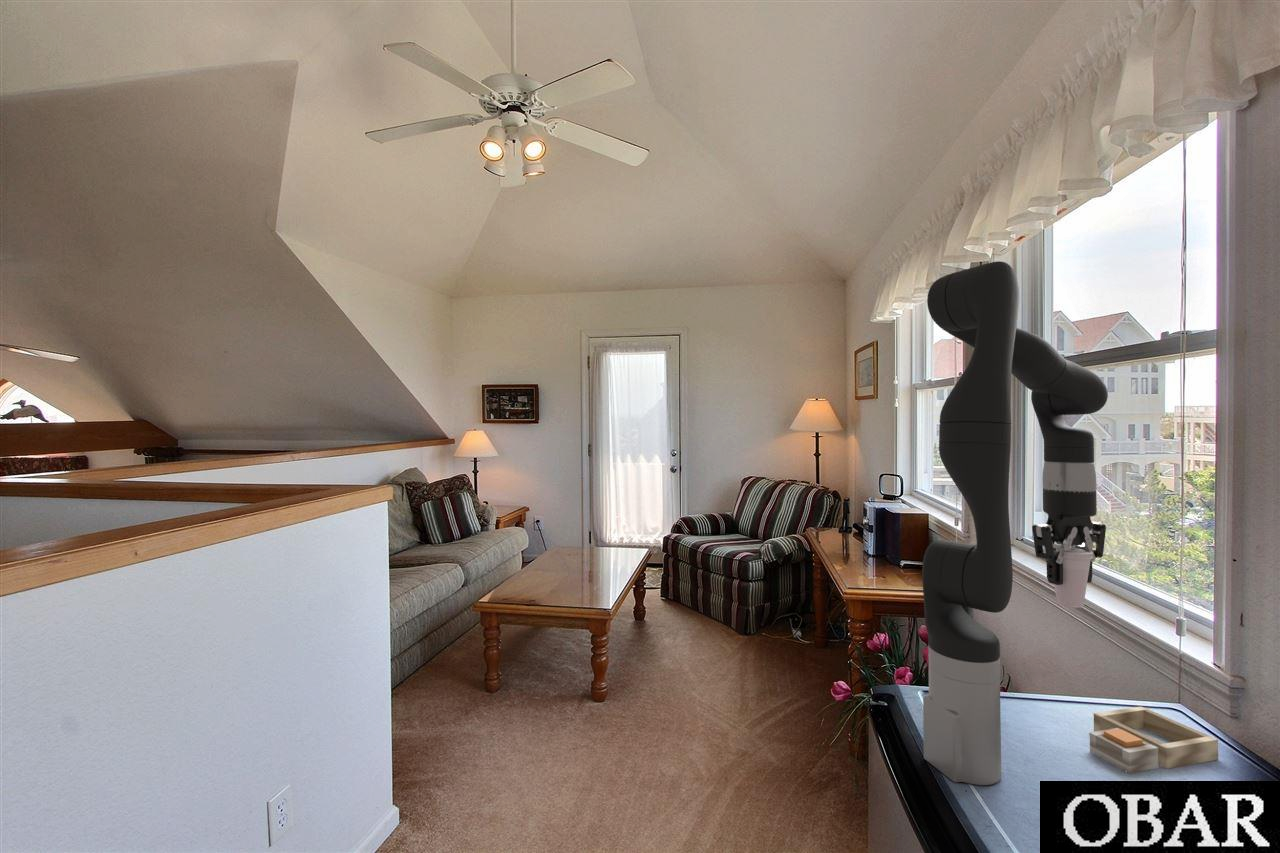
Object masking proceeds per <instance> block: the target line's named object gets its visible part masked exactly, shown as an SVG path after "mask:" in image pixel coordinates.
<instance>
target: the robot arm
mask: <svg viewBox="0 0 1280 853" xmlns="http://www.w3.org/2000/svg"><path fill="white" fill-rule="evenodd" d="M926 303H927V310H928V314H929V316H930V317H931V319H932V321H933V322H934V323H935V324H936V325H937V326H938V327H939V328H940V329H942V330H943V331H945V332H947V333H948V334H950V336H953V337H954V338H956V339H958V340H960V341H962V342H964V343H965V344H967V345H968V346H970V347H972V348H973V352H972V354H971V357H970V360H969V361H968V364H967V366H966V368H965V370H964V371H963V373H962V374H961V376H960V378H958V380H957V382H956V383H955V385H954V386H953V388H952V390H951V391H950V393H949V394H948V396H947V398H946V400H945V401H944V403H943V405H942V407H941V411H940V414H939V430H938V431H939V434H938V435H939V436H938V451H939V458H940V459H941V463H942V465H943V466H944V469H945V471H947V474H948V475H949V477H950V479H951V480H952V481H953V483H954V485H955V486H956V488H958V491H959V492H960V493H961V495H962V497H963V499H964V500H965V502H966V504H967V506H968V508H969V510H970V513H971V515H972V519H973V523H974V530H975V536H976V544H975V543H968V542H967V543H966V542H959V541H953V540H945V539H939V540H938V539H937V540H934V541H933V542H931V543H929V545H928V546H927V547H926V550H925V553H924V555H923V559H922V565H921V566H922V567H921V568H922V570H921V573H922V574H921V578H922V579H921V580H922V582H921V583H922V593H923V608H924V609H923V610H924V611H923V612H924V625H925V630H926V633H927V636H928V644H927V645H928V648H927V649H928V695H924V696H923V699H922V701H923V702H922V705H923V709H922V710H923V711H922V712H923V715H922V716H923V718H922V721H923V759H924V760H926V761H927V762H928V763H930V765H932V767H935V768H936V769H937V770H939V771H940V772H941V774H943V775H944V776H946V777H947V778H948V779H949V780H950V781H952V782H954V783H962V782H963V783H965V784H966V783H967V784H971V785H977V786H988V785H989V786H990V785H995V784H997V783H998V782H999V781H1001V779H1002V731H1001V730H1002V729H1001V728H1002V727H1001V726H1002V725H1001V724H1002V723H1001V722H1002V721H1001V654H1000V653H1001V644H1000V640H999V638H998V636H997V635H996V634H995V633H994V632H993V631H991V630H990V628H989V629H988V628H987V627H986V626H984V625H982V624H980V623H979V622H978V621H977V620H975V619H974V618H972V616H970V615H969V614H968V612H966V610H965V609H964V607H966V608H969V609H974V610H977V611H978V610H979V611H983V612H986V613H987V612H988V613H993V614H994V613H995V614H996V613H1001V612H1003V611H1005V609H1006V608H1007V606H1008V604H1009V602H1010V600H1011V597H1012V591H1013V580H1014V579H1013V576H1014V575H1013V573H1014V570H1013V556H1012V542H1011V541H1012V540H1011V527H1010V526H1011V525H1010V524H1011V523H1010V513H1009V511H1010V510H1009V504H1010V503H1009V501H1010V500H1009V498H1010V497H1009V494H1010V492H1009V490H1010V489H1009V486H1010V483H1009V482H1010V467H1011V466H1010V465H1011V450H1012V448H1011V447H1012V410H1011V408H1012V407H1011V406H1012V405H1011V404H1012V403H1011V402H1012V401H1011V400H1012V398H1011V397H1012V375H1013V376H1014V377H1015V378H1016V379H1017V380H1018V381H1019V382H1020V383H1021V384H1023V386H1025V388H1027V389H1028V390H1030V391H1031V396H1030V398H1031V404H1032V408H1033V410H1034V413H1035V416H1036V419H1037V421H1038V424H1039V428H1040V431H1041V435H1042V438H1043V461H1044V462H1043V467H1042V478H1041V479H1042V481H1041V483H1042V484H1041V485H1042V511H1043V512H1044V513H1046V514H1047V519H1046V523H1045V524H1035V523H1034V524H1032V526H1031V531H1032V538H1033V543H1034V545H1033V546H1034V551H1035V556H1036V558H1039V559H1042V560H1045V562H1046V579H1047V582H1048V583H1049V584H1052V585H1054V584H1056V585H1062V584H1063V564H1061V563H1062V561H1063V558H1064V552H1069V550H1070V547H1071V546H1073V545H1075V548H1078V549H1085V551H1091V552H1093V558H1092V559H1091V560H1090V568H1089V574H1088V580H1087V584H1090V583H1092V581H1093V562H1095V561H1096V559H1097V558H1100V559H1101V558H1102V557H1103V556H1104V550H1105V539H1106V533H1107V526H1106V524H1104V523H1099V522H1092V519H1091V517H1095V516H1096V515H1097V513H1098V511H1097V510H1098V508H1097V502H1098V501H1097V473H1096V472H1097V471H1096V469H1095V468H1096V467H1095V439H1094V435H1093V433H1092V431H1090V430H1088V429H1084V428H1081V427H1080V428H1079V427H1073V426H1070V425H1068V424H1067V423H1066V422H1065V420H1064V418H1063V416H1072V415H1073V416H1074V415H1077V416H1078V415H1090V414H1095V413H1097V412H1098V411H1100V410H1102V409H1103V408H1104V406H1105V405H1106V404H1107V401H1108V398H1109V394H1108V389H1107V386H1106V384H1105V382H1104V381H1103V379H1102V378H1101V377H1100V376H1099V375H1098V374H1097V373H1095V372H1094V371H1092V370H1090V369H1088V368H1086V367H1084V366H1081V365H1079V364H1077V363H1076V362H1073V361H1070V360H1068V359H1066V358H1065V357H1064V356H1063V355H1062V354H1061V353H1060V352H1059V351H1058V350H1057V349H1056V348H1055V347H1054V345H1052V344H1051V343H1049V341H1047V340H1046V339H1044V338H1042V337H1041V336H1039V335H1037V334H1035V333H1032V332H1029V331H1027V330H1023V329H1021V328H1018V327H1017V324H1018V316H1019V306H1020V287H1019V281H1018V278H1017V274H1016V272H1015V270H1014V268H1013V267H1012V266H1011V265H1010V264H1009V263H1007V262H1005V261H1000V260H999V261H992V262H987V263H983V264H980V265H976V266H973V267H970V268H966V269H963V270H959V271H956V272H955V271H954V272H951V273H949V274H946V275H944V276H942V277H939V278H937V279H936V280H935V281H934V282H933V283H932V284H931V286H930V288H929V289H928V292H927V301H926ZM1043 547H1044V548H1043ZM1094 548H1095V549H1094ZM1044 550H1045V551H1044ZM1054 550H1058V551H1057V554H1056V555H1054Z"/></svg>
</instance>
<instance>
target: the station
mask: <svg viewBox="0 0 1280 853" xmlns="http://www.w3.org/2000/svg"><path fill="white" fill-rule="evenodd" d="M1114 729H1122V730H1124V731H1126V732H1128V733H1130V734H1132V735H1134V736H1136V737H1138V738H1140V739H1142V740H1143V746H1139V747H1133V748H1125V747H1123V746H1121V745H1119V744H1117V743H1115V742H1114V741H1112V740H1110V739H1108V738H1106V737H1104V731H1108V730H1114ZM1139 729H1145V730H1148V731H1150V732H1152V733H1154V734H1156V735H1158V736H1161V737H1163V738H1165V739H1166V740H1169V741H1171V742H1167V743H1163V742H1161V741H1159V740H1157V739H1154V738H1152V737H1150V736H1148V735H1146V734H1144V733H1142V732H1139V731H1137V730H1139ZM1089 753H1092V754H1094V755H1095V756H1097V757H1098V758H1100V759H1102V760H1104V761H1105V762H1108V763H1110V764H1112V765H1113V766H1115V767H1117V768H1119V769H1121V770H1122V769H1123V770H1122V771H1124V770H1125V772H1126V771H1127V772H1126V773H1129V774H1133V773H1139V772H1145V771H1150V770H1155V769H1159V766H1160V767H1162V768H1164V769H1167V770H1168V769H1173V768H1179V767H1183V766H1184V767H1185V766H1190V765H1195V764H1200V763H1206V762H1211V761H1217V760H1219V739H1218V738H1215V737H1213V736H1211V735H1208V734H1206V733H1204V732H1202V731H1199V730H1198V729H1194V728H1192V727H1190V726H1188V725H1186V724H1183V723H1182V722H1179V721H1177V720H1174V719H1172V718H1169V717H1168V716H1167V717H1166V716H1164V715H1162V714H1160V713H1158V712H1155V711H1153V710H1150V709H1149V708H1147V707H1143V706H1135V707H1128V708H1121V709H1116V710H1108V711H1101V712H1094V713H1093V731H1090V732H1089Z"/></svg>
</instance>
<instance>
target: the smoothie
mask: <svg viewBox="0 0 1280 853" xmlns="http://www.w3.org/2000/svg"><path fill="white" fill-rule="evenodd" d="M1057 551H1058V550H1054V555H1056V554H1057ZM1092 558H1093V552H1091V551H1085V549H1078V548H1075V545H1073V546H1071V547H1070V550H1069V552H1064V558H1063V561H1062V563H1061V564H1063V584H1062V585H1056V584H1053V585H1054V586H1053V587H1054V593H1055V597H1056V598H1055V599H1056V604H1058V605H1061V606H1064V607H1067V608H1068V607H1069V608H1075V609H1076V608H1078V609H1082V608H1084V605H1085V599H1086V592H1087V585H1088V583H1087V580H1088V574H1089V568H1090V560H1091V559H1092Z"/></svg>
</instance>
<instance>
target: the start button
mask: <svg viewBox="0 0 1280 853" xmlns="http://www.w3.org/2000/svg"><path fill="white" fill-rule="evenodd" d="M1104 737H1106V738H1108V739H1110V740H1112V741H1114V742H1115V743H1117V744H1119V745H1121V746H1123V747H1125V748H1133V747H1139V746H1143V740H1142V739H1140V738H1138V737H1136V736H1134V735H1132V734H1130V733H1128V732H1126V731H1124V730H1122V729H1114V730H1108V731H1104Z"/></svg>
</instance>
